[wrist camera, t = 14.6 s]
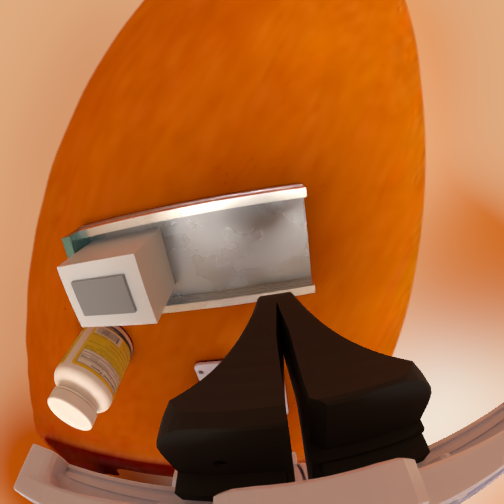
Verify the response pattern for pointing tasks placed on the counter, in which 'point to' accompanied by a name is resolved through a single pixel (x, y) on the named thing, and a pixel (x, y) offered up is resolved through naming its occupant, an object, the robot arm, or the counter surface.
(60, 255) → the counter surface
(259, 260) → the rail plate
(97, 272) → the block
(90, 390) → the supplement bottle
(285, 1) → the counter surface
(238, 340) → the robot arm
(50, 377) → the counter surface
